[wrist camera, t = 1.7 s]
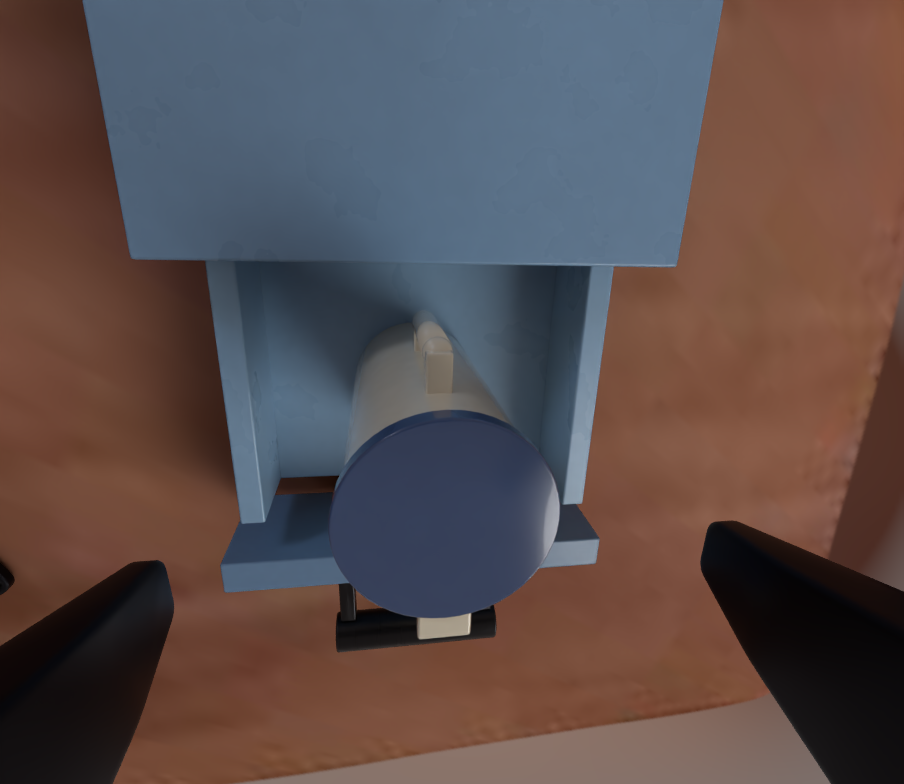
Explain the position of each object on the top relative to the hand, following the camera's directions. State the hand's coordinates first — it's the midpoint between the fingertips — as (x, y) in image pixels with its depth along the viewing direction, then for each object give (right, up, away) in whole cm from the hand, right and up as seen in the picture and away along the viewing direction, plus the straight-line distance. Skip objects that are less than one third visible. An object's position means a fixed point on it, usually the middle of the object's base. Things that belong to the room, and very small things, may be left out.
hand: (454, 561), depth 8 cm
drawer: (-2, +3, +12) cm, 12 cm away
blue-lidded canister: (-1, +3, +11) cm, 11 cm away
